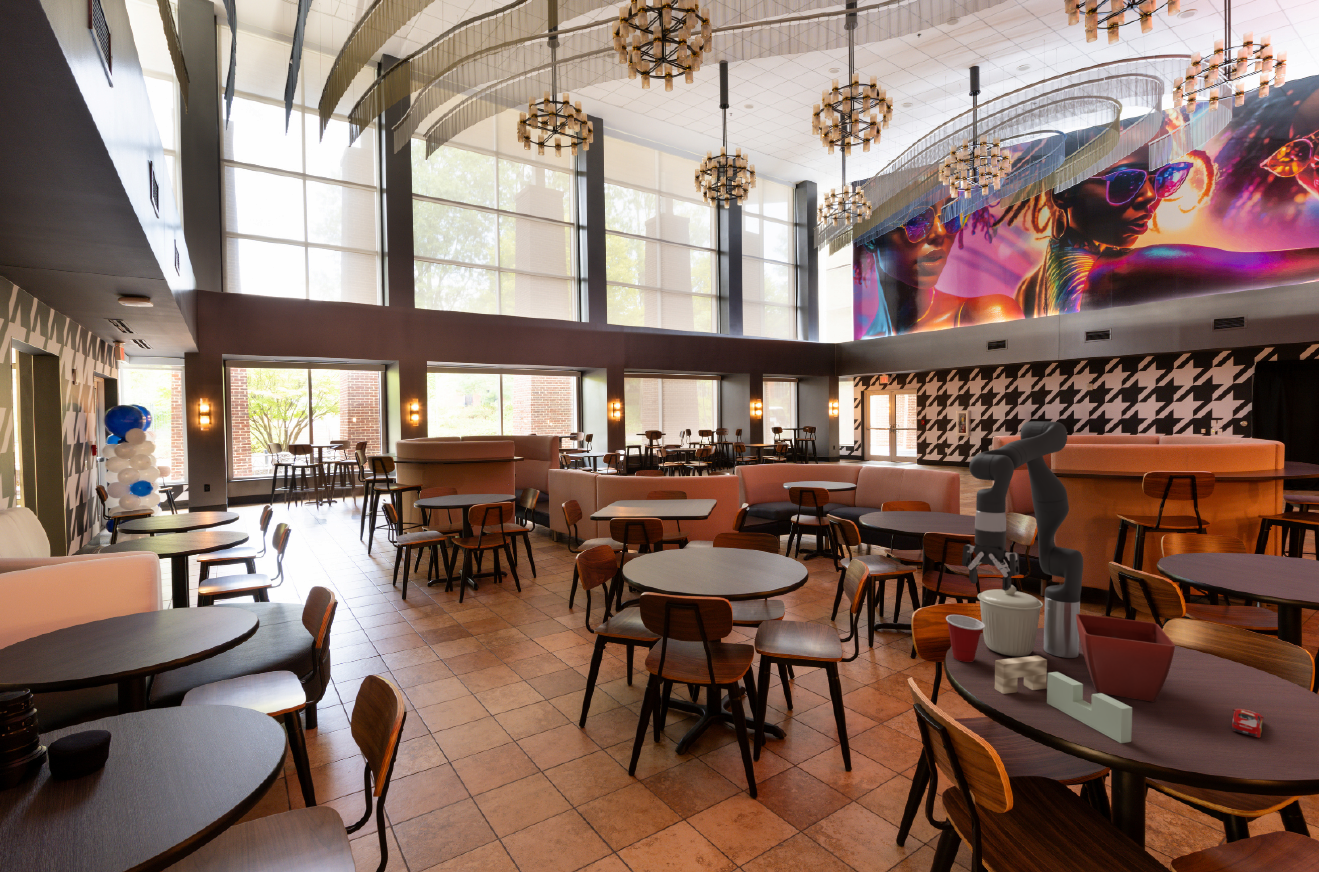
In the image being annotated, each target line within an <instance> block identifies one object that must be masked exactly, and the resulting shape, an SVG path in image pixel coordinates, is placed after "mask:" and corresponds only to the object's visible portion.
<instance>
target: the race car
mask: <svg viewBox="0 0 1319 872" xmlns="http://www.w3.org/2000/svg"><path fill="white" fill-rule="evenodd" d="M1232 711H1233V717H1232V720H1231V730H1232V731H1233V732H1237V733H1239V734H1240V733H1241V734H1243V735H1247V736H1251V737H1253V738H1254V737H1255V738H1261V737H1262V734H1263V733H1262V732H1263V722H1264V721H1263V719H1264V718H1265V717H1264V716H1263V715H1261V713H1258V712H1255V711H1253V710H1249V709H1244V708H1234V709H1232Z"/></svg>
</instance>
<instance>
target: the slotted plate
mask: <svg viewBox="0 0 1319 872" xmlns="http://www.w3.org/2000/svg"><path fill="white" fill-rule="evenodd" d="M994 661H995V662H994V689H995V690H996V691H997V692H999V693H1001V694H1003V695H1004V694H1012V693H1014V694H1015V693H1017V692H1018V678H1023V686H1024V687H1026V688H1028V689H1029V690H1031V691H1036V690H1045V689H1046V690H1047V679H1048V672H1047V670H1048V659H1046V658H1044V657H1042V656H1041V655H1032V656H1029V655H1028V656H1019V657H1012V658H1004V659H995V660H994Z"/></svg>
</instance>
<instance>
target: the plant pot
mask: <svg viewBox="0 0 1319 872" xmlns="http://www.w3.org/2000/svg"><path fill="white" fill-rule="evenodd" d="M1076 620H1077V627H1078V633H1079V643H1080V646H1081V651H1082V654H1083V657H1084V661H1085V664H1086V668H1087V671H1088V673H1089V677H1090V681H1091V682H1092V684H1093V687H1094V690H1095V691H1096V692H1097V693H1103V694H1105V695H1108V696H1109V695H1110V696H1116V697H1122V698H1127V699H1134V700H1140V701H1146V702H1150V703H1151V702H1155V701H1157V699H1158V697H1159V695H1160V693H1161V691H1162V689H1163V687H1164V685H1165V683H1166V681H1167V678H1168V675H1169V672H1170V669H1171V665H1172V662H1173V660H1174V659H1173V658H1174V654H1175V649H1176V645H1175V643H1174V642H1173V641H1172V640H1171V638H1170V637H1169V636H1168V635H1167V634H1166V632H1165V631H1164V630H1163V629H1162V627H1161V626H1160V625H1159V624H1158V623H1155V622H1150V621H1141V620H1140V621H1139V620H1133V619H1125V618H1116V617H1109V616H1101V615H1099V616H1098V615H1091V614H1083V613H1080V614H1076Z"/></svg>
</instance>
